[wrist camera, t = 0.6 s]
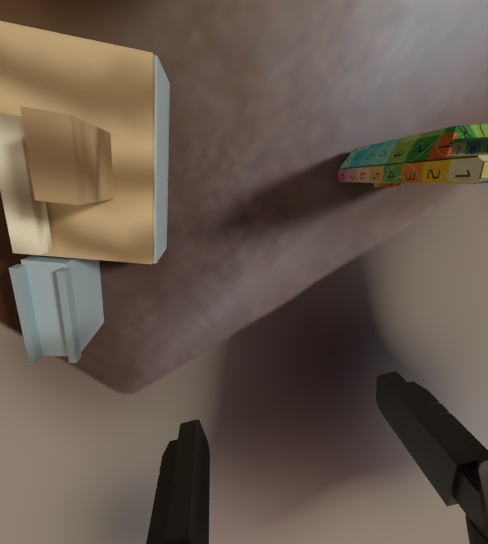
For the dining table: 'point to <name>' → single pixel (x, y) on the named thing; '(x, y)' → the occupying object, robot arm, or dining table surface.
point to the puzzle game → (422, 159)
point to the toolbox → (82, 269)
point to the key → (21, 192)
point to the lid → (86, 139)
